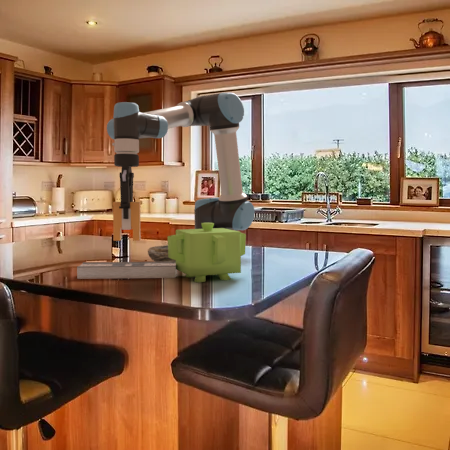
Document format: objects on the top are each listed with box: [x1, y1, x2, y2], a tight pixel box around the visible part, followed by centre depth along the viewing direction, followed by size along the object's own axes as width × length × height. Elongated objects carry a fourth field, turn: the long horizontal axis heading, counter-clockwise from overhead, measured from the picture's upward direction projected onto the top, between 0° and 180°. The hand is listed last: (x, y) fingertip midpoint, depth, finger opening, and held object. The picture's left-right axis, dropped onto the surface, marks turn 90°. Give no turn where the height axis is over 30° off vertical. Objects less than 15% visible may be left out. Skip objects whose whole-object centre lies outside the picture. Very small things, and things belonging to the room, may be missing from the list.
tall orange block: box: [112, 201, 141, 242], centre depth 150 cm, size 8×3×12 cm, turn 94°
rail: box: [76, 261, 177, 280], centre depth 152 cm, size 30×8×4 cm, turn 94°
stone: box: [147, 244, 176, 262], centre depth 178 cm, size 14×10×10 cm
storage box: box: [167, 223, 247, 283], centre depth 149 cm, size 25×23×17 cm
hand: (127, 228), depth 151 cm, fingers closed on tall orange block, 3 cm apart
